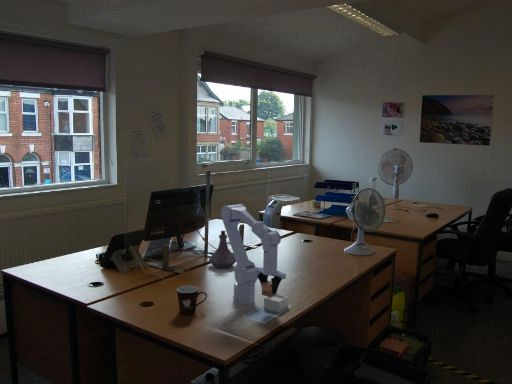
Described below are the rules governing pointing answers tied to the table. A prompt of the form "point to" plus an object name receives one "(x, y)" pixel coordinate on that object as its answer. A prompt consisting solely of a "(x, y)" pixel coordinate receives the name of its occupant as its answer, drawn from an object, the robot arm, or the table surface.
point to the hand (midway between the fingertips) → (269, 292)
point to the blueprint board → (263, 314)
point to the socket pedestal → (276, 302)
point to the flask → (222, 254)
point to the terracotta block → (267, 289)
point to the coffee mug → (188, 299)
